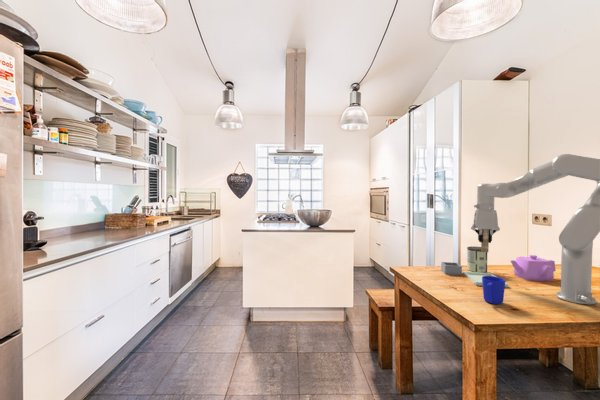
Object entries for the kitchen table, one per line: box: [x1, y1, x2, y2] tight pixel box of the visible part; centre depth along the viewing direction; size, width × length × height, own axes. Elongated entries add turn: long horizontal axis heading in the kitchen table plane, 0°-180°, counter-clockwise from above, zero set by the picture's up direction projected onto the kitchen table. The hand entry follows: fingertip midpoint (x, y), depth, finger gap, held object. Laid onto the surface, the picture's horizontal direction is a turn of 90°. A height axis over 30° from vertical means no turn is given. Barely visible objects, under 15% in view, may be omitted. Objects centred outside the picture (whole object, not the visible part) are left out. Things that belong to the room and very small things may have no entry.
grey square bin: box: [440, 261, 463, 276], centre depth 165 cm, size 9×9×6 cm
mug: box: [482, 276, 506, 305], centre depth 120 cm, size 8×12×10 cm
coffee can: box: [466, 246, 488, 273], centre depth 169 cm, size 10×10×14 cm
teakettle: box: [510, 254, 556, 282], centre depth 156 cm, size 17×17×12 cm
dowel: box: [480, 229, 490, 253], centre depth 150 cm, size 3×3×14 cm
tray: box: [462, 271, 509, 289], centre depth 151 cm, size 20×14×2 cm
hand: (484, 241), depth 150 cm, fingers closed on dowel, 3 cm apart
